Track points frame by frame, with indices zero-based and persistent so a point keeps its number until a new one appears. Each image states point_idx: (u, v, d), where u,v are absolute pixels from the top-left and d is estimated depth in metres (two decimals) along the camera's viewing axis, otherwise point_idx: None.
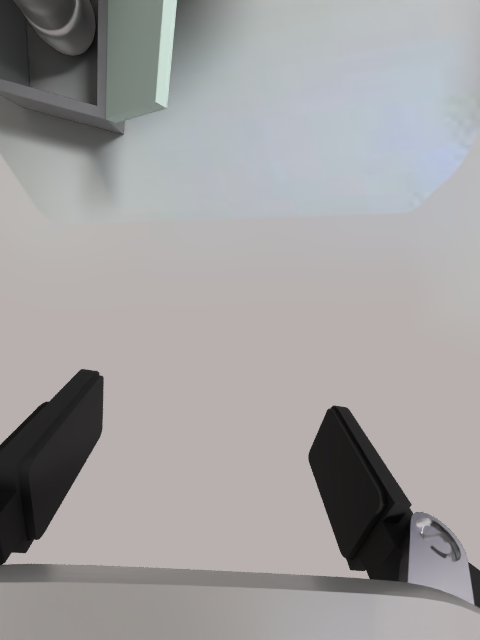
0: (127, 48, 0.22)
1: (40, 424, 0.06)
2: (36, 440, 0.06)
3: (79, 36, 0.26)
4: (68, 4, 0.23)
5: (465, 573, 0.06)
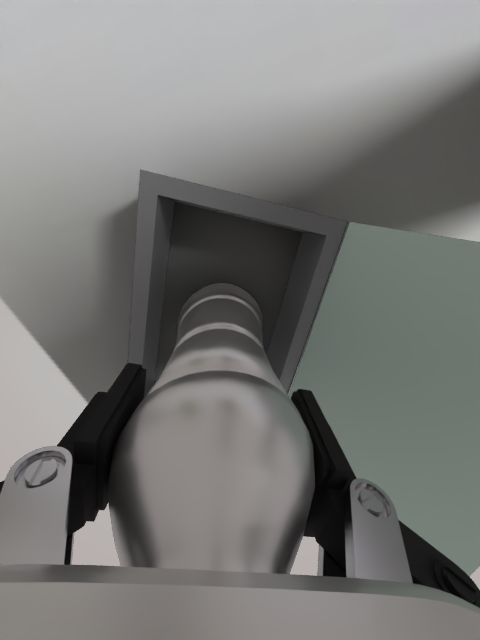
0: (355, 455, 0.16)
1: (107, 409, 0.07)
2: (107, 421, 0.07)
3: None
4: None
5: (396, 525, 0.06)
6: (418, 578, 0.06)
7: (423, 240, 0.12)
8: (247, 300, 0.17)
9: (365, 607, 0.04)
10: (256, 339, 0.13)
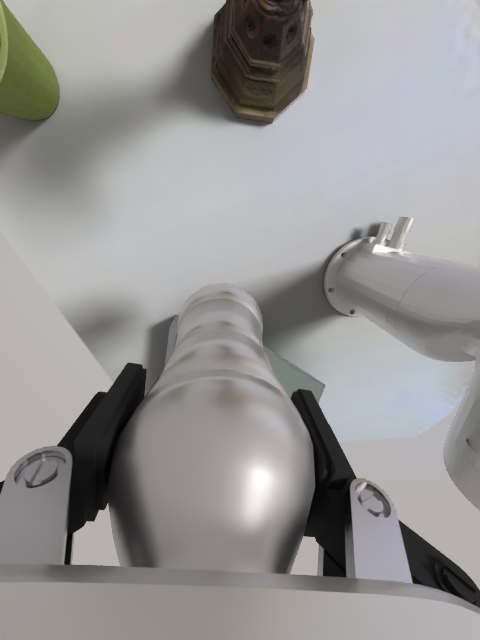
0: None
1: (106, 408, 0.07)
2: (107, 421, 0.07)
3: None
4: None
5: (396, 526, 0.06)
6: (418, 578, 0.06)
7: (270, 356, 0.34)
8: (247, 300, 0.17)
9: (365, 607, 0.04)
10: (256, 339, 0.13)
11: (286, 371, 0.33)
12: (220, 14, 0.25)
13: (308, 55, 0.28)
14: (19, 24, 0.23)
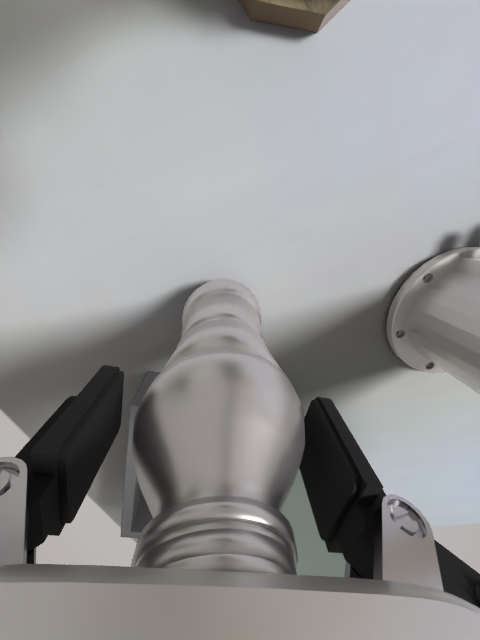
0: None
1: (72, 415, 0.07)
2: (71, 430, 0.07)
3: None
4: None
5: (431, 548, 0.06)
6: (456, 595, 0.06)
7: None
8: (247, 294, 0.18)
9: (365, 607, 0.04)
10: (255, 328, 0.14)
11: None
12: None
13: None
14: None
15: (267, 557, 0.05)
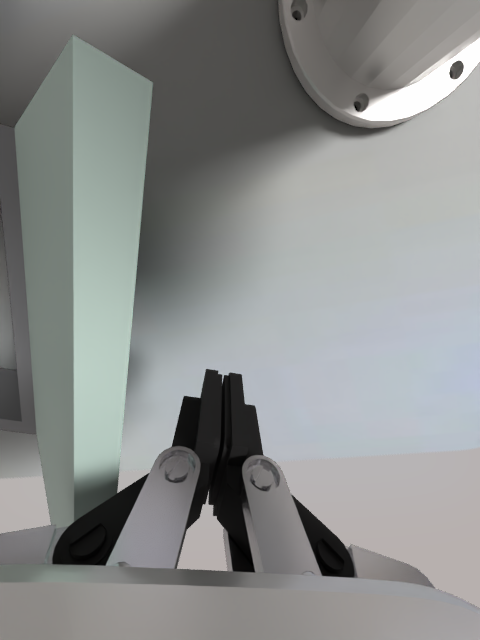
0: (45, 446, 0.12)
1: (209, 412, 0.08)
2: (215, 424, 0.08)
3: None
4: None
5: (286, 489, 0.07)
6: None
7: (22, 127, 0.08)
8: None
9: (365, 607, 0.04)
10: None
11: (33, 142, 0.06)
12: None
13: None
14: None
15: None
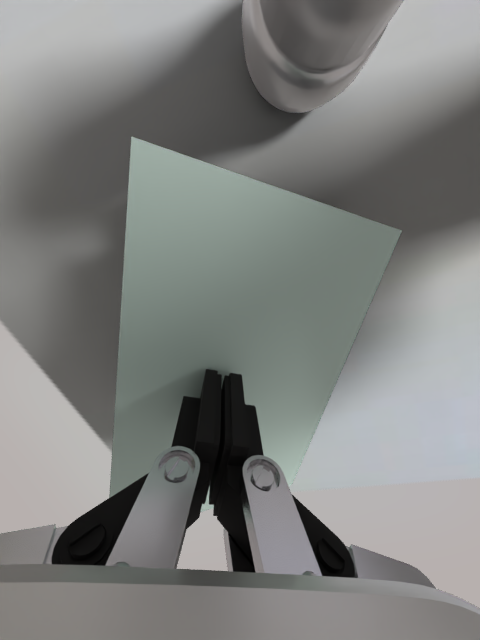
0: None
1: (209, 412, 0.08)
2: (214, 424, 0.08)
3: (346, 80, 0.12)
4: None
5: (286, 489, 0.07)
6: None
7: None
8: None
9: (365, 607, 0.04)
10: None
11: None
12: None
13: None
14: None
15: None
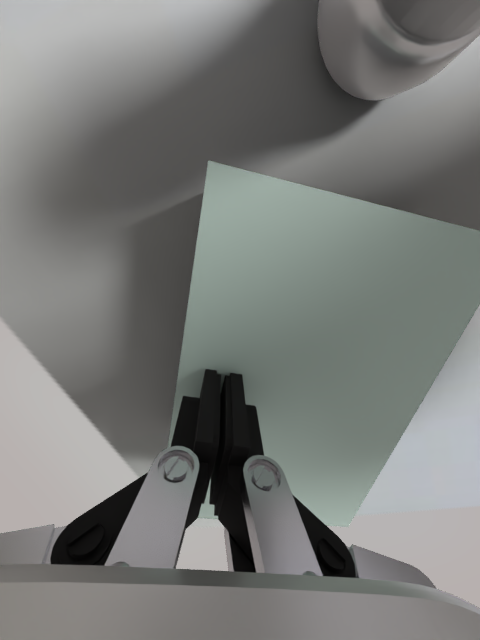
0: None
1: (208, 412, 0.08)
2: (214, 423, 0.08)
3: None
4: None
5: (287, 489, 0.07)
6: None
7: None
8: None
9: (365, 607, 0.04)
10: None
11: None
12: None
13: None
14: None
15: None
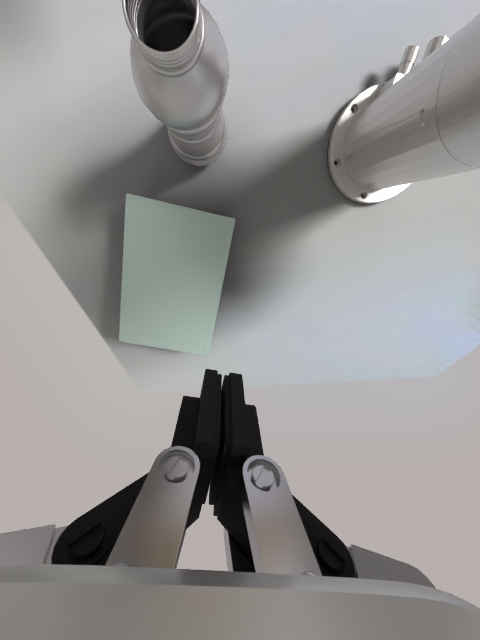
0: None
1: (209, 412, 0.08)
2: (214, 424, 0.08)
3: (215, 155, 0.28)
4: (219, 138, 0.26)
5: (286, 489, 0.07)
6: None
7: None
8: None
9: (365, 607, 0.04)
10: None
11: None
12: None
13: None
14: None
15: None
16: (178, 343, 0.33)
